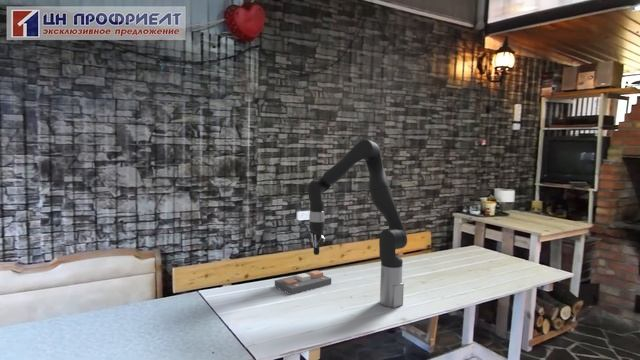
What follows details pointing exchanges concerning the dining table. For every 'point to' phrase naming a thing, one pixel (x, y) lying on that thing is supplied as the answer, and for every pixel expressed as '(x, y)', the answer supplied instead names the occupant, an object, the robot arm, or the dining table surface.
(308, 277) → the key middle
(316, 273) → the key right
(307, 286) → the keypad
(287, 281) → the key left
